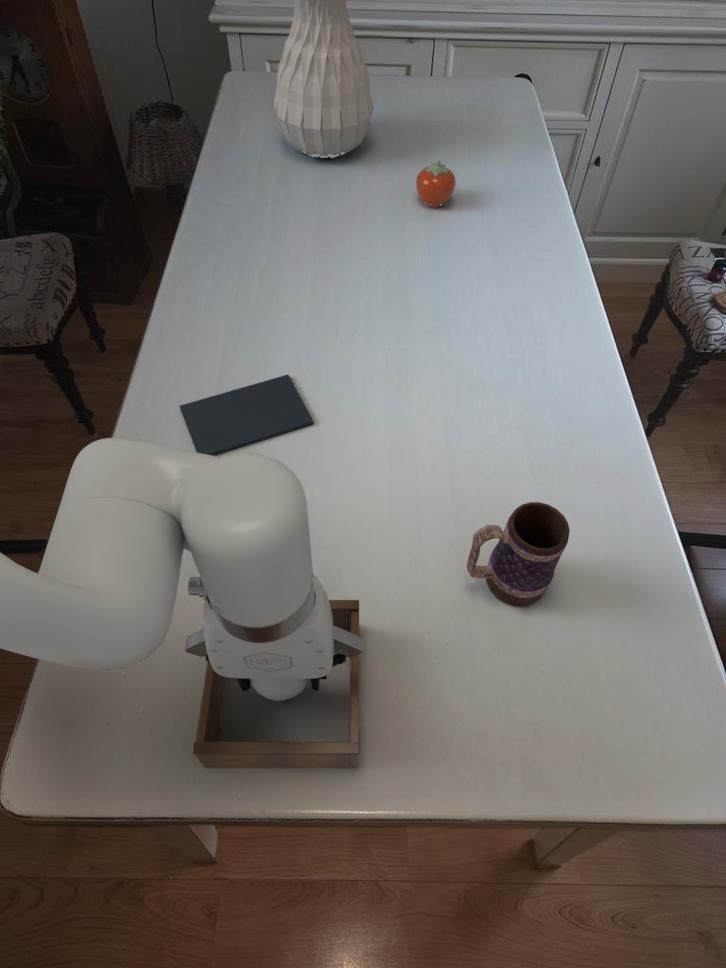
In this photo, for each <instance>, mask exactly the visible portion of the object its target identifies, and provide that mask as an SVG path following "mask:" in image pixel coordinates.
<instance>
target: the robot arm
mask: <svg viewBox="0 0 726 968" xmlns="http://www.w3.org/2000/svg"><path fill="white" fill-rule="evenodd" d="M68 474H69V475H68V477H67V481H66V484H65V487H64V491H63V494H62V496H61V500H60V504H59V506H58V510H57V513H56V517H55V519H54V522H53V526H52V530H51V533H50V536H49V539H48V542H47V545H46V548H45V551H44V554H43V557H42V561H41V564H40V567H39V570H38V573H37V572H35V571H32V570H31V569H29V568H27V567H25V566H24V565H23V566H22V565H20V564H19V563H17V562H15V561H13V560H12V559H11V558H9V557H8V556H7V555H5V554H3V552H0V649H1V650H4V651H8V652H11V653H14V654H15V653H16V654H18V655H22V656H24V657H25V656H26V657H29V658H33V659H37V660H41V661H44V662H49V663H53V664H56V665H60V666H65V667H70V668H71V667H73V668H77V669H84V670H95V671H111V670H122V669H125V668H129V667H132V666H136V665H138V664H140V663H142V662H144V661H146V660H147V659H149V658H151V656H153V655H154V654H155V653H156V652H157V651H158V650H159V649H160V647H161V645H163V643H164V641H165V639H166V638H167V635H168V633H169V630H170V627H171V623H172V619H173V614H174V609H175V604H176V598H177V592H178V586H179V580H180V573H181V568H182V560H183V554H184V550H186V551H188V552H189V553H191V556H192V559H193V561H194V564H195V567H196V569H197V572H198V574H199V576H190V577H189V579H188V584H187V592H188V595H189V596H198V597H199V598H203V601H204V603H203V607H202V628H201V629H200V630H198V631H196V632H194V633H192V634H190V635H188V636H187V637H186V643H185V646H184V647H185V648H184V652H185V653H187V654H191V655H193V656H197V657H200V658H203V657H205V661H206V662H207V661H208V662H209V663H210V664H211V666H212V668H213V669H214V671H215V672H216V673H217V674H219V675H220V676H223V677H225V678H230V679H234V680H237V682H238V685H239V688H240V691H241V692H248V690H250V689H251V681H250V679H309V681H310V688H311V690H312V691H313V692H320V681H321V680H327V677H328V675H329V674H330V673H332V669H333V668H334V667H335V666H338V665H342V664H344V663H346V659H347V658H348V659H351V657H354V656H357V655H359V656H360V655H363V654H364V652H365V639H364V638H363V637H361V636H360V635H359V636H357V635H355V634H352V633H351V632H348V631H345V630H343V629H341V628H338V627H336V626H334V625H333V616H332V611H331V607H330V603H329V600H330V599H329V597H328V595H327V592H326V589H325V587H324V586H323V585H322V582H321V581H320V580H319V578H318V576H316V575H315V574H314V571H313V560H312V559H313V558H312V546H311V545H312V544H311V532H310V520H309V509H308V502H307V501H308V500H307V496H306V492H305V489H304V486H303V485H302V483H301V481H300V479H299V478H298V477H297V475H296V473H295V472H294V471H293V470H292V469H291V468H290V467H288V465H286V464H285V463H284V462H282V461H280V460H278V459H277V458H274V457H271V456H269V455H265V454H261V453H258V452H257V453H255V452H237V453H233V454H227V455H224V456H218V455H214V456H212V455H206V454H201V453H197V452H196V451H192V450H186V449H183V448H178V447H174V446H170V445H166V444H161V443H157V442H153V441H149V440H144V439H139V438H131V437H118V436H117V437H106V438H101V439H97V440H94V441H92V442H90V443H89V444H87V445H86V446H85V447H83V448H82V449H81V450H80V452H79V453H78V454H77V456H76V457H75V459H74V462H73V464H72V466H71V468H70V471H69V473H68Z"/></svg>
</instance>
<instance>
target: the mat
mask: <svg viewBox="0 0 726 968" xmlns="http://www.w3.org/2000/svg"><path fill="white" fill-rule="evenodd" d="M179 408H180V412H181V414H182V417H183V420H184V422H185V425H186V427H187V430H188V434H189V435H190V436H189V437H190V439H191V441H192V443H193V446H194V449H195V452H196V453H201V454H206V455H212V456H218V455H221V454H224V453H227V452H229V451H233V450H237V449H239V448H242V447H246V446H249V445H252V444H255V443H258V442H261V441H262V442H263V441H264V440H268V439H272V438H275V437H277V436H280V435H283V434H288V433H290V432H294V431H296V430H300V429H303V428H306V427H309V426H312V425H314V424H315V421H314V420H313V418H312V416H311V414H310V412H309V410H308V409H307V406H306V405H305V403H304V401H303V398H302V396H301V395H300V393H299V392H298V389H297V388H296V385H295V383H294V382H293V380H292V379H291V377H290V375H289V374H285V375H281V376H278V377H274V378H271V379H268V380H267V379H266V380H264V381H261V382H260V381H259V382H257V383H253V384H250V385H246V386H243V387H240V388H237V389H232V390H230V391H226V392H222V393H219V394H216V395H215V394H214V395H212V396H207V397H205V398H202V399H199V400H195V401H191V402H188V403H184V404H181V405H179Z"/></svg>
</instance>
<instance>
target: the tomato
mask: <svg viewBox="0 0 726 968" xmlns="http://www.w3.org/2000/svg"><path fill="white" fill-rule="evenodd" d="M456 185H457V184H456V177H455V174H454V172H452V170H450V169H449V168H447V167H446V164H443V163H442V162H441V160H439V159H437V160H436V161H435V162H432V163H431V164H430V165H428V166H426V167H424V168H423V169H421V170H420V171H419V173H418V174H417V176H416V179H415V186H416V192H417V195H418V197H419V200H420V201H421V202H422V203H423V204H424V205H425V206H427V207H429V208H433V209H435V208H441V207H442V206H444V205H445V204H446V203H448V202H449V200H450V199H451V197H452V195H453V194H454V191H455V189H456ZM424 202H425V203H424ZM426 203H427V204H426ZM430 204H431V205H430ZM440 204H442V205H440Z"/></svg>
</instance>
